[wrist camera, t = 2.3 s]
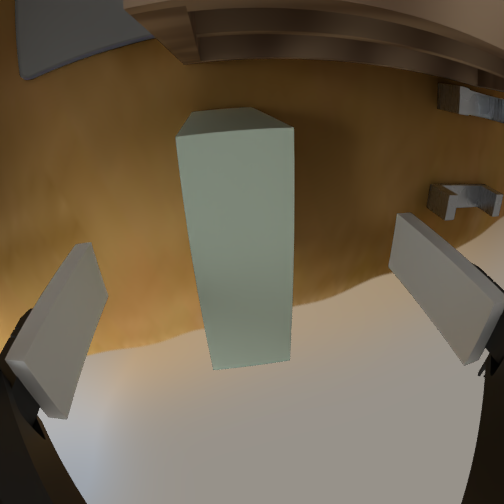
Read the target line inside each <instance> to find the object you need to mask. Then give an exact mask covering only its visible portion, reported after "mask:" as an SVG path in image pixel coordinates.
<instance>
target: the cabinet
mask: <svg viewBox="0 0 504 504" xmlns="http://www.w3.org/2000/svg"><path fill="white" fill-rule="evenodd" d="M123 9H124V10H125V11H126V12H127V13H128V14H130V15H131V16H132V17H133V18H134V19H135V20H136V21H138V22H139V23H140V24H141V25H142V26H143V27H144V28H145V29H147V30H148V31H149V32H150V33H151V34H152V35H153V36H154V37H155V38H156V39H157V40H159V41H160V42H161V43H162V44H163V45H164V46H165V47H166V48H167V49H168V50H169V51H170V52H171V53H172V54H173V55H175V56H176V57H177V58H178V59H179V60H180V61H181V62H182V63H183V64H184V65H185V64H193V63H203V62H213V61H227V60H245V59H310V60H328V61H341V62H352V63H361V64H369V65H377V66H384V67H391V68H397V69H403V70H409V71H414V72H419V73H424V74H429V75H433V76H438V77H442V78H446V79H450V80H454V81H458V82H462V83H465V84H469V85H472V86H476V87H481V88H486V89H491V90H496V91H501V92H504V0H123Z"/></svg>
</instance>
